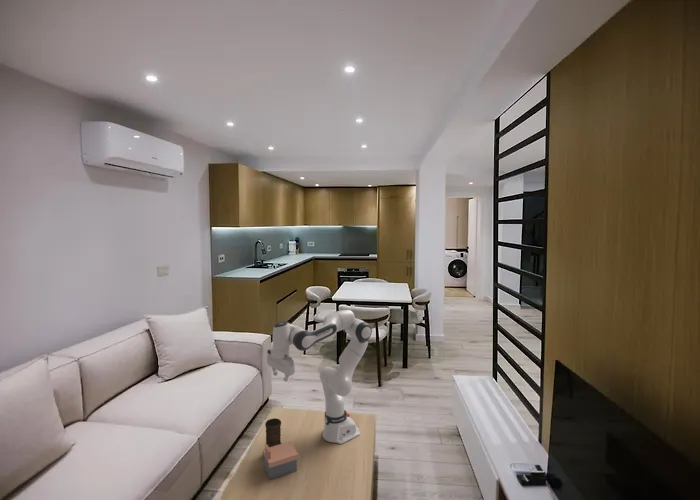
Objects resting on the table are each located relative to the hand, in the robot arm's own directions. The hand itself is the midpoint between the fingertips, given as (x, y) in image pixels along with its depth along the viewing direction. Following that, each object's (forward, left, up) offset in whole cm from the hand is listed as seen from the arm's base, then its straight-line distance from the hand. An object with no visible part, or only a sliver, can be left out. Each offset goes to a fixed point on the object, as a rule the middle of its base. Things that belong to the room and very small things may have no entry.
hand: (280, 378), depth 188 cm
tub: (+3, +10, -43) cm, 45 cm away
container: (+3, -3, -44) cm, 44 cm away
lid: (+3, +10, -37) cm, 38 cm away
